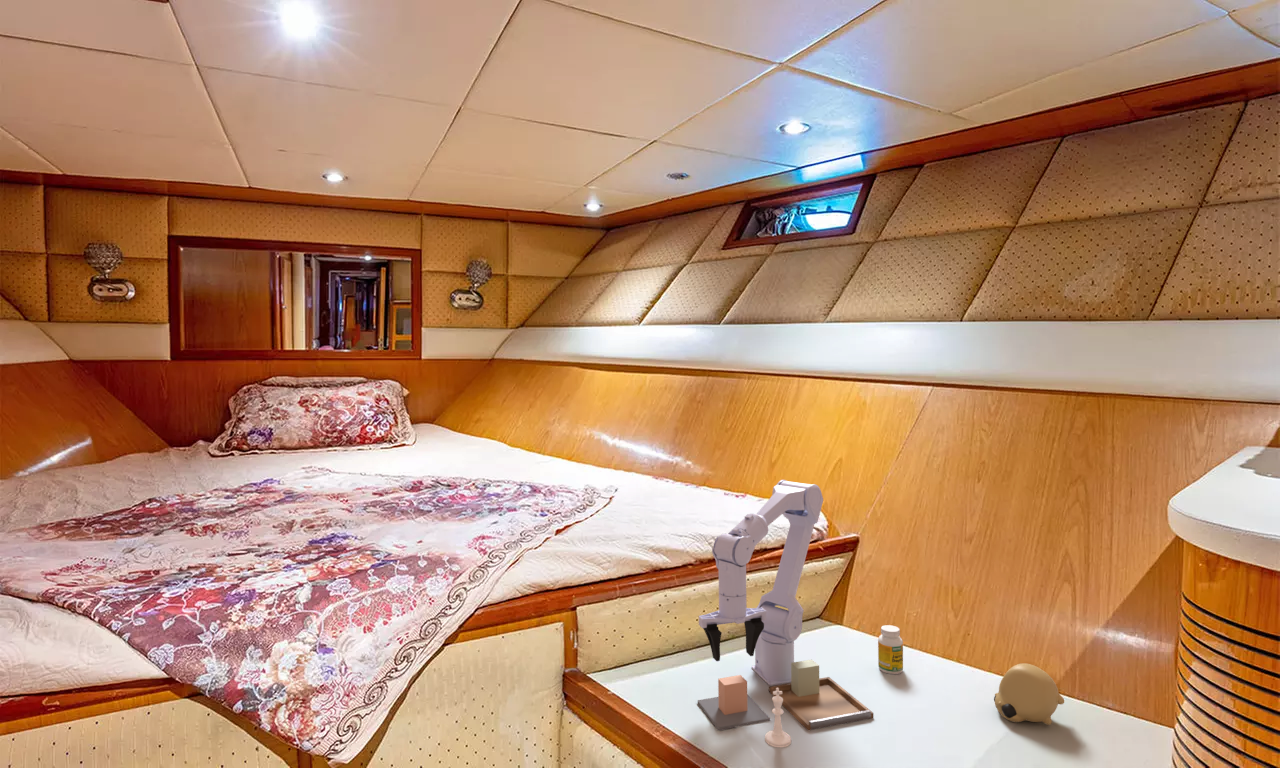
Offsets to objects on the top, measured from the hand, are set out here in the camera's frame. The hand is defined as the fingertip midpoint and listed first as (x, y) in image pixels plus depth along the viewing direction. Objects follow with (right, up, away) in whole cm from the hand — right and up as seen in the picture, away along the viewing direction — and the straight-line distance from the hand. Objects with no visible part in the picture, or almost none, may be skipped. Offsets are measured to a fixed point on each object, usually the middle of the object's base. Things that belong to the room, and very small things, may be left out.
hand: (733, 656), depth 140 cm
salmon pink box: (-1, -9, -4) cm, 10 cm away
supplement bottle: (+38, -9, +13) cm, 41 cm away
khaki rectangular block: (+16, -9, +3) cm, 19 cm away
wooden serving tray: (+17, -9, -2) cm, 20 cm away
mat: (-1, -10, -4) cm, 10 cm away
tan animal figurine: (+57, -9, -8) cm, 58 cm away
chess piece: (+6, -10, -15) cm, 19 cm away
